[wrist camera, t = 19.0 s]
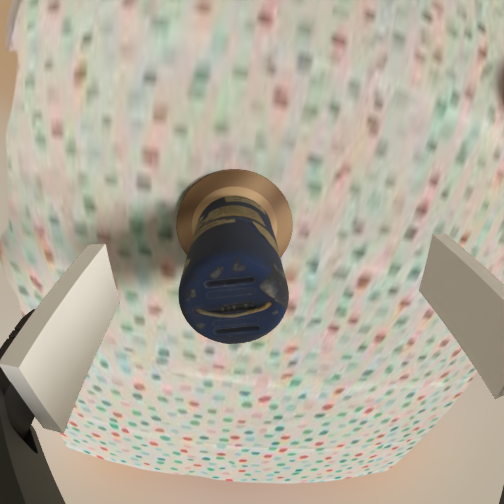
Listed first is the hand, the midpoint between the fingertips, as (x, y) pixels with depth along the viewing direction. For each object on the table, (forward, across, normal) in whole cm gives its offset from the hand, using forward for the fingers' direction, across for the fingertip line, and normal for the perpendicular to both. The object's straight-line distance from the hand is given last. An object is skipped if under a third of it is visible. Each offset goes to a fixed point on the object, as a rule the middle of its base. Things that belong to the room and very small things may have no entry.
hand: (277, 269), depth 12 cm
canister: (+28, -2, -10) cm, 30 cm away
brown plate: (+29, -2, -10) cm, 30 cm away
